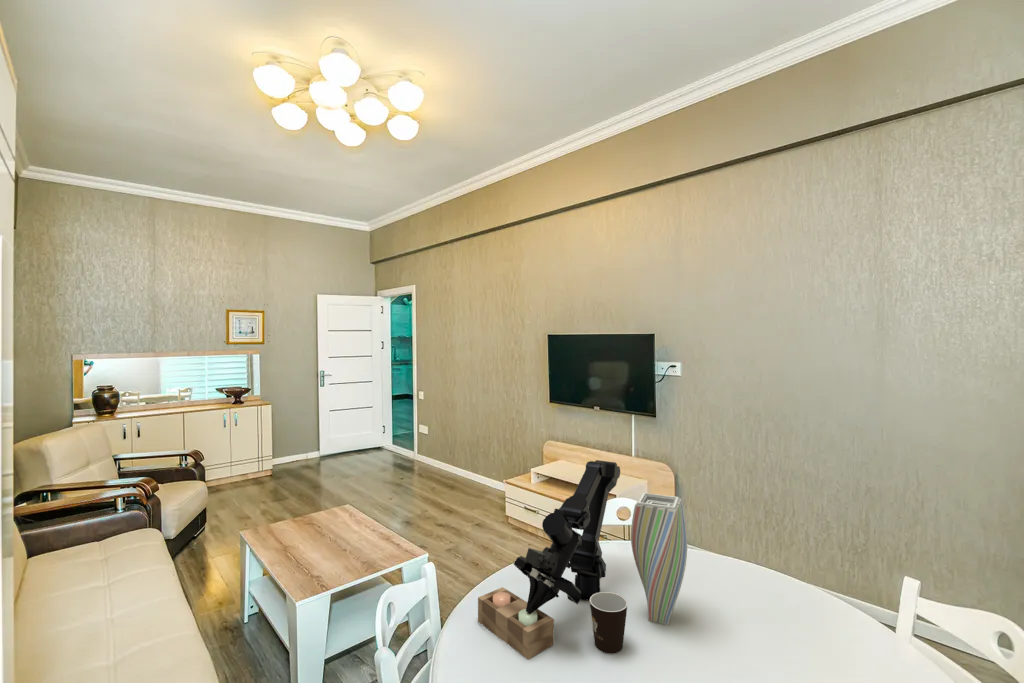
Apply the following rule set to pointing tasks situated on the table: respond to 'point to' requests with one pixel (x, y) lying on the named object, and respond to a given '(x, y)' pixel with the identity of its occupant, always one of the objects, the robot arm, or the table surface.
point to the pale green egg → (527, 617)
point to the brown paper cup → (608, 621)
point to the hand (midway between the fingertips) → (527, 612)
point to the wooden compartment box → (516, 624)
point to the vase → (659, 551)
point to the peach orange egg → (501, 599)
